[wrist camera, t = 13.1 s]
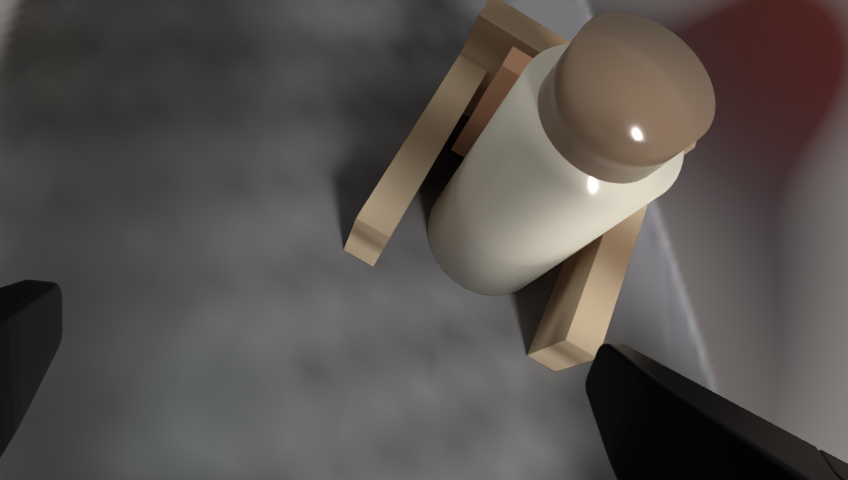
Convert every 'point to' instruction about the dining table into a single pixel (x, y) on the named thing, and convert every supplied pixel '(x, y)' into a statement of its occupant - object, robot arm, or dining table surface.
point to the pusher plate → (491, 100)
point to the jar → (571, 152)
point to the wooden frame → (458, 94)
